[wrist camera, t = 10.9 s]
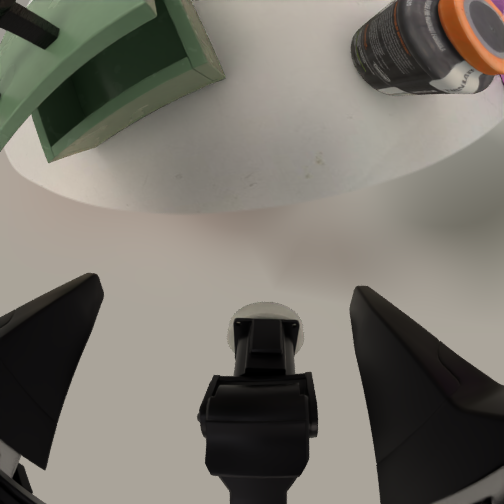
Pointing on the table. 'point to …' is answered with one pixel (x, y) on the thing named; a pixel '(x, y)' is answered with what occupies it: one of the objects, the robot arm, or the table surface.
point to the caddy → (128, 81)
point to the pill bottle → (431, 47)
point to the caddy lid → (55, 47)
